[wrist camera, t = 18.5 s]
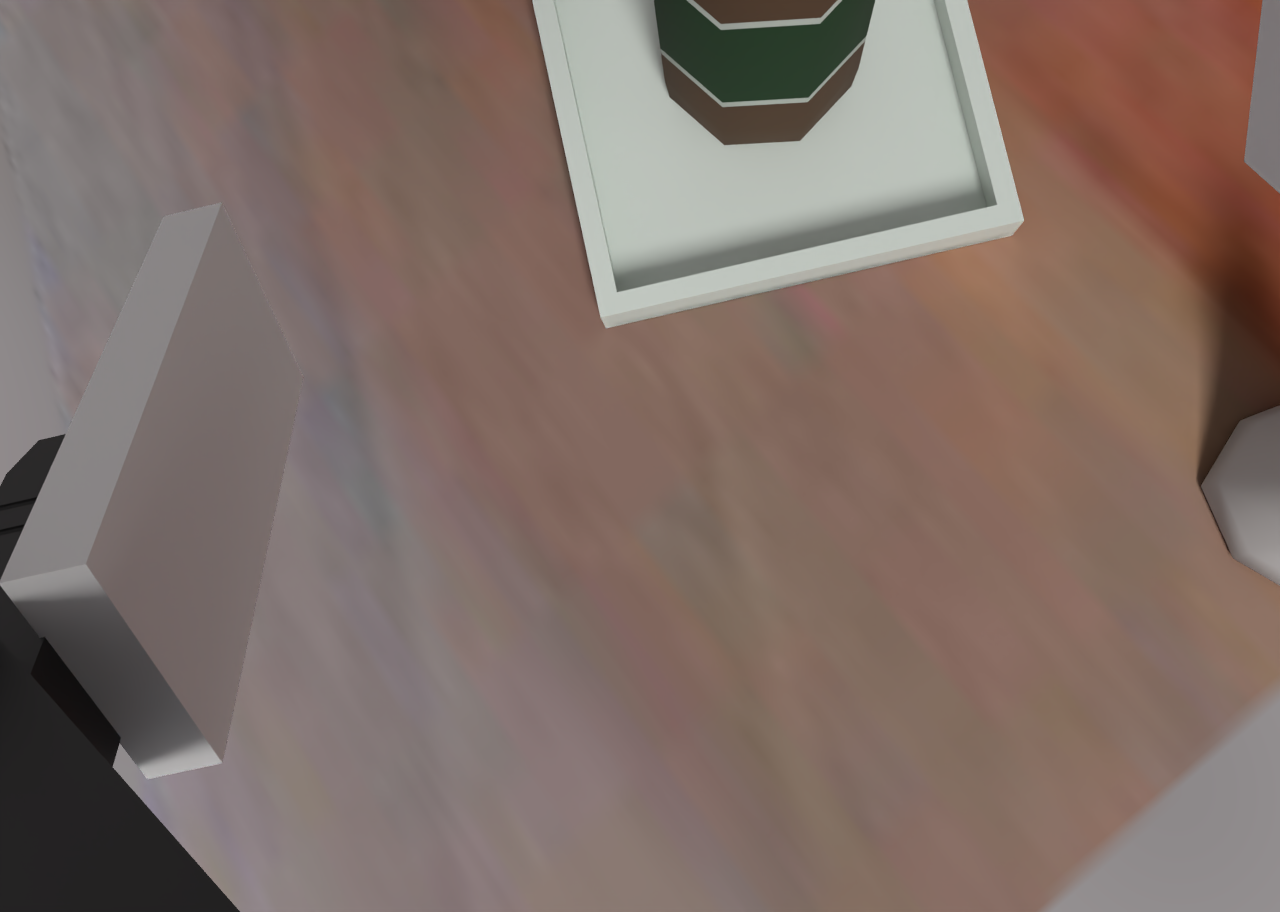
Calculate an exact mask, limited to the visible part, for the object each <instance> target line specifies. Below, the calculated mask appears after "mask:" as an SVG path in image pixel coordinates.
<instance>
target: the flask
mask: <svg viewBox="0 0 1280 912" xmlns="http://www.w3.org/2000/svg"><path fill="white" fill-rule="evenodd" d="M1201 488H1202V490H1203V492H1204V494H1205V497H1206V499H1207V501H1208V503H1209V505H1210V508H1211V510H1212V512H1213V514H1214V517H1215V519H1216V521H1217V523H1218V526H1219V528H1220V530H1221V532H1222V535H1223V537H1224V539H1225V541H1226V543H1227V546H1228V548H1229V550H1230V552H1231V555H1232V557H1233V558H1234V559H1235V560H1237V561H1239V562H1240V563H1242V564H1244V565H1245V566H1247V567H1249V568H1251V569H1252V570H1254V571H1256V572H1257V573H1259V574H1261V575H1262V576H1264V577H1266V578H1268V579H1269V580H1271V581H1273V582H1274V583H1276V584H1278V585H1280V405H1279V406H1276V407H1273V408H1271V409H1268V410H1266V411H1263V412H1261V413H1258V414H1255V415H1253V416H1250V417H1248V418H1245V419H1243V420H1240V421H1239V423H1238V424H1237V426H1236V428H1235V429H1234V431H1233V433H1232V435H1231V436H1230V438H1229V440H1228V441H1227V443H1226V445H1225V446H1224V448H1223V450H1222V451H1221V453H1220V455H1219V456H1218V458H1217V460H1216V461H1215V463H1214V465H1213V466H1212V468H1211V470H1210V471H1209V473H1208V475H1207V476H1206V478H1205V480H1204V481H1203V483H1202V485H1201Z"/></svg>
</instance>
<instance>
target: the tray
mask: <svg viewBox="0 0 1280 912" xmlns="http://www.w3.org/2000/svg"><path fill="white" fill-rule="evenodd" d="M532 1H533V6H534V11H535V15H536V20H537V25H538V29H539V34H540V39H541V43H542V48H543V52H544V57H545V62H546V66H547V71H548V76H549V80H550V85H551V90H552V94H553V99H554V103H555V108H556V113H557V117H558V122H559V127H560V131H561V136H562V141H563V145H564V150H565V155H566V159H567V164H568V168H569V173H570V178H571V182H572V187H573V192H574V196H575V201H576V206H577V210H578V215H579V220H580V224H581V229H582V233H583V238H584V243H585V247H586V252H587V257H588V261H589V266H590V271H591V275H592V280H593V285H594V289H595V294H596V298H597V303H598V308H599V312H600V317H601V319H602V321H603V323H604V325H605V327H606V328H610V327H614V326H619V325H623V324H627V323H632V322H636V321H641V320H645V319H649V318H654V317H658V316H662V315H667V314H671V313H676V312H680V311H684V310H689V309H693V308H697V307H702V306H706V305H711V304H715V303H719V302H724V301H728V300H732V299H737V298H741V297H746V296H750V295H754V294H759V293H763V292H768V291H772V290H776V289H781V288H785V287H789V286H794V285H798V284H803V283H807V282H811V281H816V280H820V279H824V278H829V277H833V276H838V275H842V274H846V273H851V272H855V271H859V270H864V269H868V268H873V267H877V266H881V265H886V264H890V263H894V262H899V261H903V260H908V259H912V258H916V257H921V256H925V255H929V254H934V253H938V252H943V251H947V250H951V249H956V248H960V247H964V246H969V245H973V244H978V243H982V242H986V241H991V240H995V239H999V238H1004V237H1008V236H1012V235H1013V234H1014V232H1015V231H1016V230H1017V229H1018V227H1019V226H1020V225H1021V224H1022V223H1023V221H1024V218H1023V214H1022V211H1021V207H1020V203H1019V199H1018V195H1017V191H1016V187H1015V184H1014V180H1013V176H1012V172H1011V168H1010V164H1009V160H1008V156H1007V153H1006V149H1005V145H1004V141H1003V137H1002V133H1001V129H1000V126H999V122H998V118H997V114H996V110H995V106H994V102H993V99H992V95H991V91H990V87H989V83H988V79H987V75H986V72H985V68H984V64H983V60H982V56H981V52H980V48H979V44H978V41H977V37H976V33H975V29H974V25H973V21H972V17H971V14H970V10H969V6H968V2H967V0H875V4H874V8H873V12H872V16H871V20H870V24H869V28H868V32H867V36H866V40H865V44H864V48H863V52H862V56H861V61H860V65H859V68H858V71H857V73H856V76H855V78H854V81H853V83H852V86H851V87H850V88H849V89H848V90H847V92H846V93H845V94H844V95H843V96H842V97H841V98H840V99H839V100H838V101H837V102H836V103H835V104H834V105H833V106H832V107H831V109H830V110H829V111H828V112H827V113H826V114H825V115H824V116H823V117H822V118H821V119H820V120H819V121H818V122H817V123H816V125H815V126H814V127H813V128H812V129H811V130H810V131H809V132H808V133H807V134H806V135H805V136H804V137H803V138H802V139H801V140H800V141H791V142H773V143H755V144H738V145H723V144H722V143H721V142H720V141H719V140H718V139H717V138H716V137H714V136H713V135H712V134H711V133H710V132H709V131H708V130H706V129H705V128H704V127H703V126H702V125H701V124H700V123H698V122H697V121H696V120H695V119H694V118H693V117H692V116H690V115H689V114H688V113H687V112H686V111H685V110H684V109H682V108H681V107H680V106H679V105H678V104H677V103H676V102H675V101H673V100H672V99H671V98H670V97H669V94H668V90H667V87H666V83H665V79H664V72H663V65H662V57H661V50H660V43H659V35H658V28H657V20H656V13H655V6H654V0H532Z"/></svg>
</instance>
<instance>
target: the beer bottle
mask: <svg viewBox="0 0 1280 912" xmlns="http://www.w3.org/2000/svg"><path fill="white" fill-rule="evenodd" d="M874 4H875V0H654V6H655V13H656V20H657V28H658V35H659V43H660V50H661V57H662V65H663V72H664V79H665V83H666V87H667V90H668V94H669V97H670V98H671V99H672V100H673V101H675V102H676V103H677V104H678V105H679V106H680V107H681V108H682V109H684V110H685V111H686V112H687V113H688V114H689V115H690V116H692V117H693V118H694V119H695V120H696V121H697V122H698V123H700V124H701V125H702V126H703V127H704V128H705V129H706V130H708V131H709V132H710V133H711V134H712V135H713V136H714V137H716V138H717V139H718V140H719V141H720V142H721V143H722V144H723V145H738V144H755V143H773V142H791V141H800V140H801V139H802V138H803V137H804V136H805V135H806V134H807V133H808V132H809V131H810V130H811V129H812V128H813V127H814V126H815V125H816V123H817V122H818V121H819V120H820V119H821V118H822V117H823V116H824V115H825V114H826V113H827V112H828V111H829V110H830V109H831V107H832V106H833V105H834V104H835V103H836V102H837V101H838V100H839V99H840V98H841V97H842V96H843V95H844V94H845V93H846V92H847V90H848V89H849V88H850V87H851V86H852V83H853V81H854V78H855V76H856V73H857V71H858V68H859V65H860V61H861V56H862V52H863V48H864V44H865V40H866V36H867V32H868V28H869V24H870V20H871V16H872V12H873V8H874Z"/></svg>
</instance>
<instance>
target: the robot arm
mask: <svg viewBox="0 0 1280 912" xmlns="http://www.w3.org/2000/svg"><path fill="white" fill-rule="evenodd" d="M1244 162H1245V163H1246V164H1247V165H1249V166H1250V167H1251V168H1252V169H1253V170H1254V171H1255V172H1256V173H1257V174H1259V175H1260V176H1261V177H1262V178H1263V179H1264V180H1265V181H1266V182H1268V183H1269V184H1270V185H1271V186H1272V187H1273V188H1274V189H1275V190H1277V191H1278V192H1279V193H1280V0H1263V2H1262V11H1261V19H1260V28H1259V37H1258V46H1257V54H1256V63H1255V72H1254V80H1253V89H1252V98H1251V106H1250V115H1249V124H1248V132H1247V141H1246V150H1245V159H1244ZM303 378H304V377H303V375H302V373H301V371H300V368H299V366H298V364H297V362H296V360H295V358H294V356H293V353H292V351H291V349H290V347H289V345H288V343H287V341H286V338H285V336H284V334H283V332H282V330H281V328H280V326H279V323H278V321H277V319H276V317H275V315H274V313H273V311H272V308H271V306H270V304H269V302H268V300H267V298H266V296H265V293H264V291H263V289H262V287H261V285H260V283H259V281H258V278H257V276H256V274H255V272H254V270H253V268H252V266H251V263H250V261H249V259H248V257H247V255H246V253H245V251H244V248H243V246H242V244H241V242H240V240H239V238H238V235H237V233H236V231H235V229H234V227H233V225H232V223H231V220H230V218H229V216H228V214H227V212H226V210H225V208H224V205H223V203H222V202H221V203H217V204H213V205H209V206H204V207H200V208H196V209H192V210H188V211H183V212H179V213H175V214H171V215H167V216H164V217H163V219H162V221H161V224H160V226H159V228H158V230H157V232H156V235H155V237H154V239H153V241H152V244H151V246H150V248H149V250H148V252H147V255H146V257H145V259H144V261H143V264H142V266H141V268H140V270H139V272H138V275H137V277H136V279H135V281H134V284H133V286H132V288H131V290H130V292H129V295H128V297H127V299H126V301H125V304H124V306H123V308H122V310H121V313H120V315H119V317H118V319H117V321H116V324H115V326H114V328H113V330H112V333H111V335H110V337H109V339H108V341H107V344H106V346H105V348H104V350H103V353H102V355H101V357H100V359H99V361H98V364H97V366H96V368H95V370H94V373H93V375H92V377H91V379H90V381H89V384H88V386H87V388H86V390H85V393H84V395H83V397H82V399H81V401H80V404H79V406H78V408H77V410H76V413H75V415H74V417H73V419H72V421H71V424H70V426H69V428H68V430H67V433H66V434H64V435H60V436H55V437H51V438H47V439H43V440H39V441H38V442H37V443H36V444H35V445H34V446H33V447H32V448H31V449H30V450H29V451H28V452H27V453H26V454H25V455H24V456H23V457H22V458H21V459H20V460H19V462H18V463H17V464H16V465H15V466H14V467H13V468H12V469H11V470H10V471H9V472H8V473H7V474H6V476H5V478H4V480H3V482H2V484H1V486H0V912H240V911H239V910H238V909H237V908H236V907H235V906H234V904H233V903H232V902H231V901H230V900H229V899H228V898H227V896H226V895H225V894H224V893H223V892H222V891H221V890H220V889H219V887H218V886H217V885H216V884H215V883H214V882H213V881H212V879H211V878H210V877H209V876H208V875H207V874H206V873H205V872H204V870H203V869H202V868H201V867H200V866H199V865H198V864H197V862H196V861H195V860H194V859H193V858H192V857H191V856H190V855H189V853H188V852H187V851H186V850H185V849H184V848H183V847H182V845H181V844H180V843H179V842H178V841H177V840H176V839H175V838H174V836H173V835H172V834H171V833H170V832H169V831H168V830H167V828H166V827H165V826H164V825H163V824H162V823H161V822H160V821H159V819H158V818H157V817H156V816H155V815H154V814H153V813H152V811H151V810H150V809H149V808H148V807H147V806H146V805H145V804H144V802H143V801H142V800H141V799H140V798H139V797H138V796H137V794H136V793H135V792H134V791H133V790H132V789H131V788H130V787H129V786H128V784H127V783H126V782H125V781H124V780H123V779H122V777H121V776H120V775H119V774H118V773H117V772H116V771H115V770H114V768H113V763H114V760H115V756H116V753H117V750H118V746H119V743H120V744H121V745H122V747H123V748H124V749H125V750H126V752H127V753H128V754H129V756H130V757H131V758H132V760H133V761H134V762H135V764H136V765H137V766H138V768H139V769H140V770H141V772H142V773H143V774H144V775H145V777H146V778H147V779H151V778H155V777H160V776H165V775H169V774H174V773H179V772H184V771H188V770H193V769H198V768H202V767H207V766H212V765H216V764H221V763H223V758H224V753H225V749H226V744H227V739H228V734H229V730H230V725H231V720H232V715H233V711H234V706H235V701H236V696H237V692H238V687H239V682H240V677H241V673H242V668H243V663H244V658H245V654H246V649H247V644H248V639H249V635H250V630H251V625H252V620H253V616H254V611H255V606H256V601H257V597H258V592H259V587H260V582H261V578H262V573H263V568H264V563H265V559H266V554H267V549H268V544H269V540H270V535H271V530H272V525H273V520H274V516H275V511H276V506H277V501H278V497H279V492H280V487H281V482H282V478H283V473H284V468H285V463H286V459H287V454H288V449H289V444H290V440H291V435H292V430H293V425H294V421H295V416H296V411H297V406H298V402H299V397H300V392H301V387H302V383H303Z"/></svg>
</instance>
